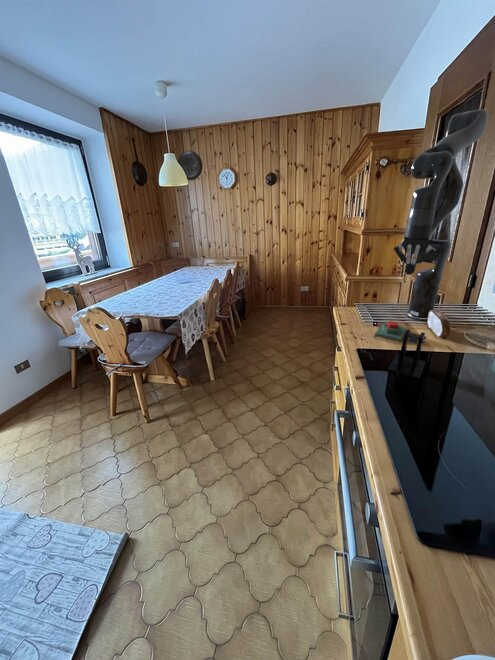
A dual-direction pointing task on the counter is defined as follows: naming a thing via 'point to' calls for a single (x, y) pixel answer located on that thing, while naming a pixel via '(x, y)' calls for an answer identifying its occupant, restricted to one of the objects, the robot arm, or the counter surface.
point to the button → (392, 325)
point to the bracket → (409, 358)
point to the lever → (414, 338)
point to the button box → (391, 332)
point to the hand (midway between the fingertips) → (409, 274)
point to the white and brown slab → (438, 323)
